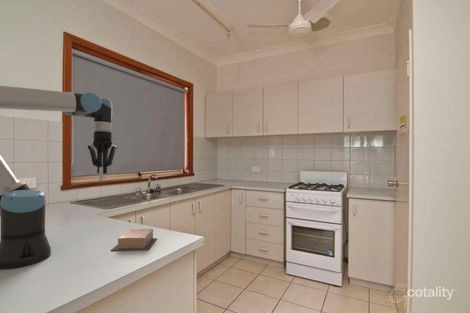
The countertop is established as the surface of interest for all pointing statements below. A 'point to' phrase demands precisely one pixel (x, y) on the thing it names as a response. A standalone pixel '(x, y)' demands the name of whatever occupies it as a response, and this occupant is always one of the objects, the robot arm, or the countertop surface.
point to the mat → (136, 248)
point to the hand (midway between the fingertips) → (102, 180)
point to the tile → (135, 238)
